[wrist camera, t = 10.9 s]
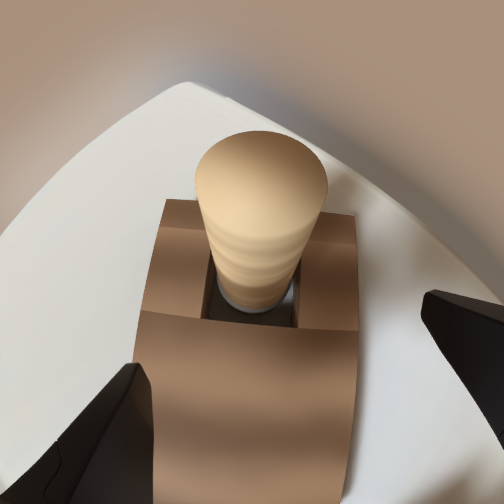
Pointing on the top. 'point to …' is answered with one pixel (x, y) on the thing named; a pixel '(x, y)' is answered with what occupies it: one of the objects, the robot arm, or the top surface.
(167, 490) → the walnut board
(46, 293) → the top surface
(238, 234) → the oak peg
